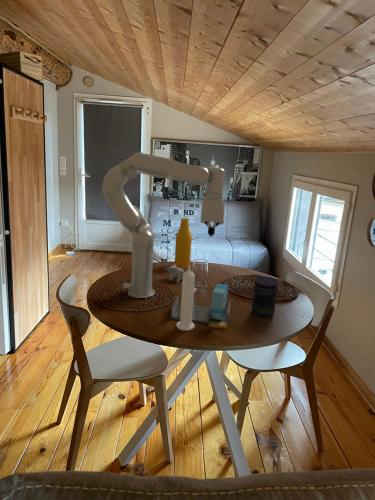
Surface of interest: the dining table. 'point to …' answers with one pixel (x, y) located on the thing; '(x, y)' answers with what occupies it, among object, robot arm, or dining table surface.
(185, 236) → the beer bottle
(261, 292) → the storage jar
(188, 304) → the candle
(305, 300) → the dining table surface
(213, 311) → the data package
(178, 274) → the gray elephant figurine
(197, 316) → the rack
